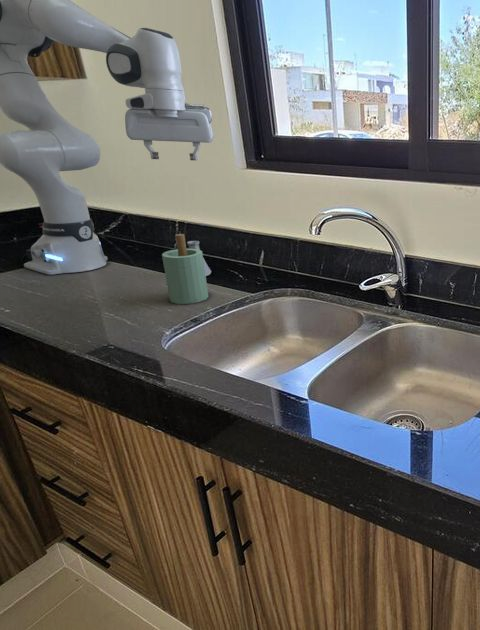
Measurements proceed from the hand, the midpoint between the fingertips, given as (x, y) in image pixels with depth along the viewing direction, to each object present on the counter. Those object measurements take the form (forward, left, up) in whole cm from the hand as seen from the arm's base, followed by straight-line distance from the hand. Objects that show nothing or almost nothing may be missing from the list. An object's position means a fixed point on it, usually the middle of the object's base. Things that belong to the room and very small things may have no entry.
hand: (174, 159), depth 125 cm
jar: (+11, -14, -33) cm, 37 cm away
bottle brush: (+11, -14, -32) cm, 37 cm away
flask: (-1, +3, -33) cm, 33 cm away
